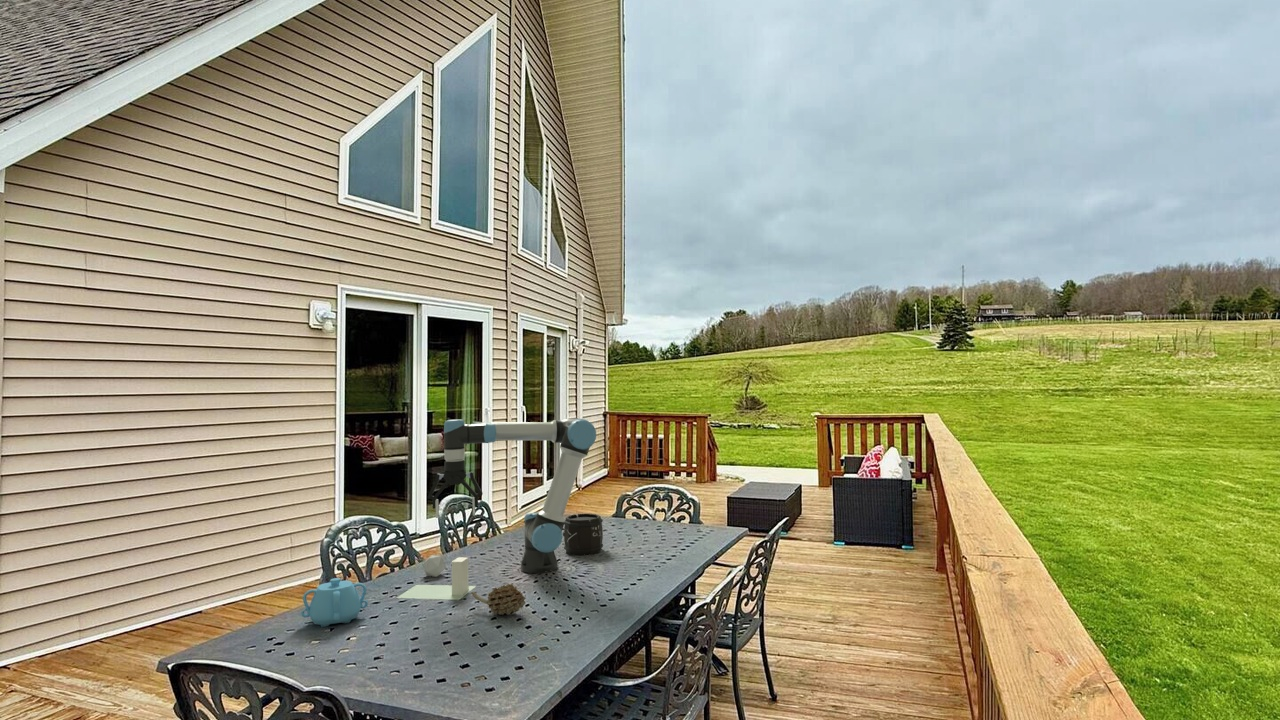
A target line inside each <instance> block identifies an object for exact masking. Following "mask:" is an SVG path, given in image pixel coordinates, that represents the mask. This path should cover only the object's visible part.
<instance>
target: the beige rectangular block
mask: <svg viewBox="0 0 1280 720" xmlns="http://www.w3.org/2000/svg"><path fill="white" fill-rule="evenodd" d="M469 569H470V568H469V557H465V556H463V557H461V556H460V557H456V558H455V559H453V560H452V561H451V585H452V595H463V594H464V593H466V592H467V591H468V590H469V586H470V585H469V584H470V583H469V581H470V579H469V576H470V575H469Z"/></svg>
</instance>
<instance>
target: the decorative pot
mask: <svg viewBox="0 0 1280 720" xmlns="http://www.w3.org/2000/svg"><path fill="white" fill-rule="evenodd" d="M356 587H362V588H363V589H362V595H361V597H360V594H359V592H358V590H357V588H356ZM312 593H314V594H313V596H312V598H311V601H310V605H309V603H308V600H307V599H308V598H307V596H308V595H310V594H312ZM366 594H367V586H366V584H365V583H364V582H363V583H362V582H355V583H353V582H352V581H351V580H342V579H341V578H340V577H334V578H331V579H330V580H329V582H325V583H321V584H319V585H318V586H317V588H312V589H308V590H307V591H306V592H304V594H303V596H302V602H303V604H304V606H305V608H304V609H303V610H302V611H301V612H300V613H301V614H300V615H301V616H302V617H303V618H310V620H311V621H312V623H313V624H314V625H318V626H319V625H320V627H322V628H325V627H329V626H330V625H334V624H335V625H336V624H339V623H342V624H349V623H351V622H352V620H354V619H356V618H357V617H358V616H359V614H360V611H362V609H366V608H367V607H368V605H369V602H368V600H366V599H365V597H366ZM363 603H364V604H363ZM305 612H307V613H305Z"/></svg>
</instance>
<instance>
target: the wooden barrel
mask: <svg viewBox="0 0 1280 720" xmlns="http://www.w3.org/2000/svg"><path fill="white" fill-rule="evenodd" d="M564 520H565V523H564V526H563V531H562V537H563V540H564V541H563V542H564V546H563V549H564V550H565V552H566V554H568V555H570V556H576V557H577V556H578V557H581V556H582V557H583V556H592V555H596V554H599V553H600V552H601V550H602V549H603V547H604V544H603V538H604V535H603V522H604V520H603V519H602V518H601V515H599V514H596V513H577V514H576V513H575V514H574V513H573V514H571V515H568V516H566V517H565V519H564Z"/></svg>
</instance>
